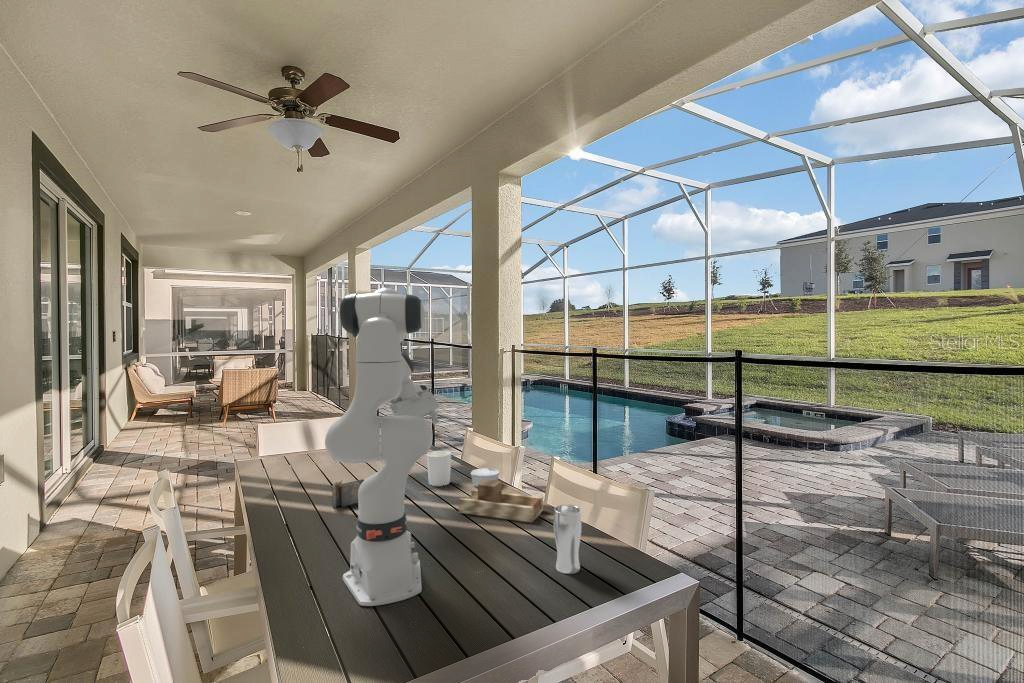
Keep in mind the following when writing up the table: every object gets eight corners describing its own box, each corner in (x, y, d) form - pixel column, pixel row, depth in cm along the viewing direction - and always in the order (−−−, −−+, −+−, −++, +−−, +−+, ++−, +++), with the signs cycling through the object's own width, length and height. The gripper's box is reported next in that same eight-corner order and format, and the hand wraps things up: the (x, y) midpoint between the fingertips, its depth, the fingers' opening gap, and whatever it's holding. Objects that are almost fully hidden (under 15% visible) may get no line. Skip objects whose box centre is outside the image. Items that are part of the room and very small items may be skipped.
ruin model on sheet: (336, 510, 164) (335, 482, 164) (332, 507, 166) (332, 480, 166) (367, 502, 172) (366, 475, 172) (363, 500, 174) (362, 473, 174)
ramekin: (505, 484, 189) (505, 471, 189) (484, 491, 181) (484, 477, 181) (485, 479, 197) (485, 466, 197) (465, 485, 189) (465, 472, 189)
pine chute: (458, 512, 159) (458, 499, 159) (473, 501, 170) (473, 489, 169) (532, 522, 150) (532, 508, 150) (543, 510, 160) (542, 497, 160)
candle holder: (456, 481, 193) (456, 452, 193) (440, 488, 185) (440, 457, 185) (438, 478, 198) (437, 449, 198) (421, 484, 190) (421, 454, 190)
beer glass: (574, 577, 115) (574, 516, 115) (549, 570, 119) (548, 510, 119) (586, 565, 121) (585, 507, 121) (561, 559, 125) (560, 502, 125)
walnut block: (478, 508, 159) (477, 484, 159) (485, 502, 165) (485, 479, 165) (494, 510, 157) (494, 486, 157) (501, 504, 163) (501, 481, 163)
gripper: (392, 397, 158) (415, 431, 155) (429, 384, 176) (450, 414, 173) (382, 407, 160) (404, 441, 158) (419, 393, 178) (440, 424, 176)
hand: (429, 427), depth 166 cm, fingers open, 8 cm apart
